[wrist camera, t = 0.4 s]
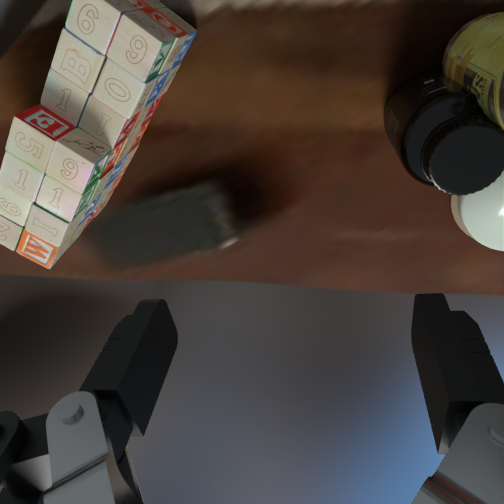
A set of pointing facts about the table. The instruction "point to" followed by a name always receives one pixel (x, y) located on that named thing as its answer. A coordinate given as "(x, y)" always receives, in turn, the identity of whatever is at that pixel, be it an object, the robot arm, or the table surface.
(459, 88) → the supplement bottle
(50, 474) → the robot arm
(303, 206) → the table surface
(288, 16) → the table surface
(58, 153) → the stack of blocks
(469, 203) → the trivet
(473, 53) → the sauce bottle
